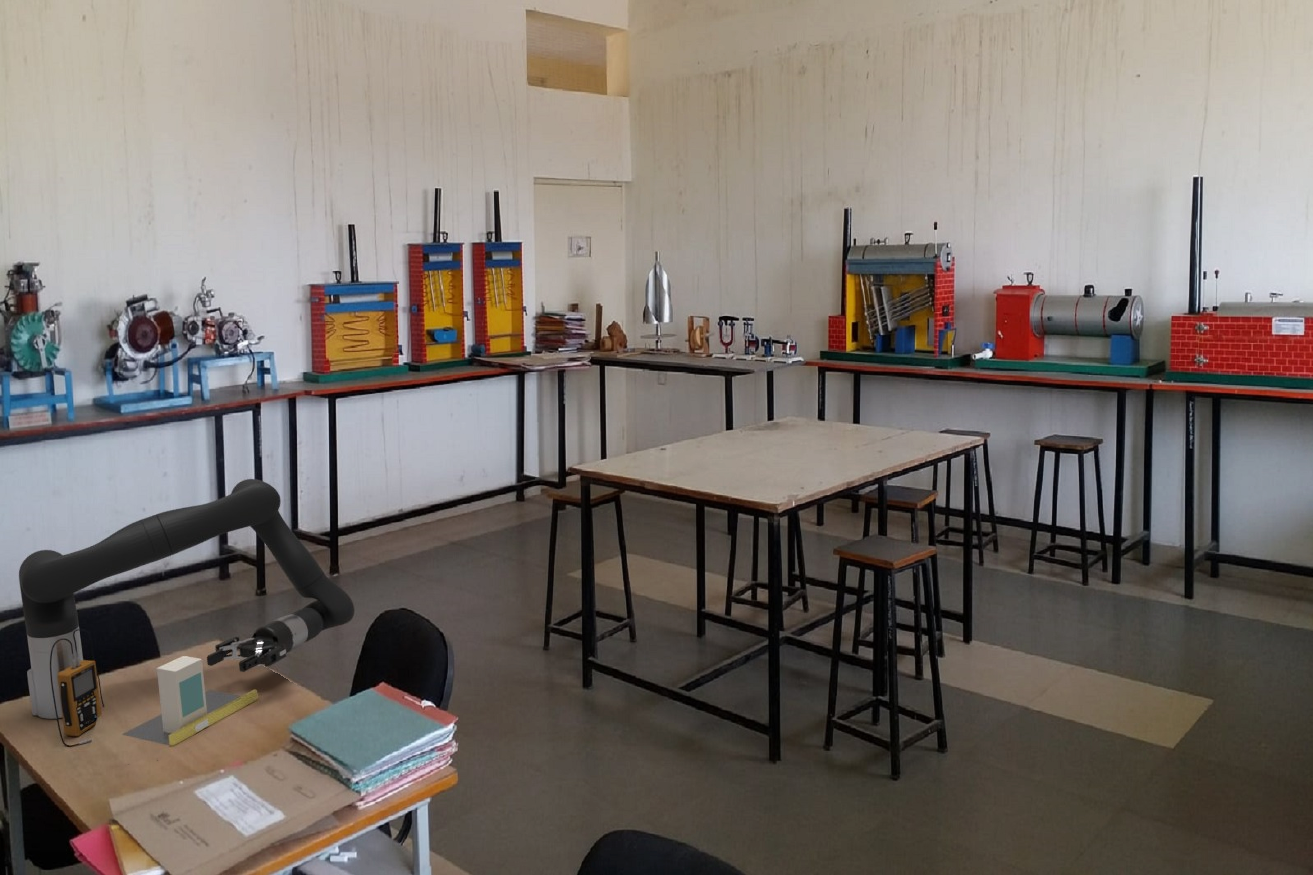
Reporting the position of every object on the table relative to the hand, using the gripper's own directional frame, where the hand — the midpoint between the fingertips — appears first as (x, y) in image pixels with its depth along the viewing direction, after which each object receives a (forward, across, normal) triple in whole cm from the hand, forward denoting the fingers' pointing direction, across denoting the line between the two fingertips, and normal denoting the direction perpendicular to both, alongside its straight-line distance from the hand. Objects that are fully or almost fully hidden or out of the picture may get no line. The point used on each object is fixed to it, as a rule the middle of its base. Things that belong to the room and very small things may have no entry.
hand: (224, 664), depth 217 cm
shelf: (+7, -2, +10) cm, 12 cm away
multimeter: (+16, -17, +10) cm, 26 cm away
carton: (+11, 0, +8) cm, 14 cm away
